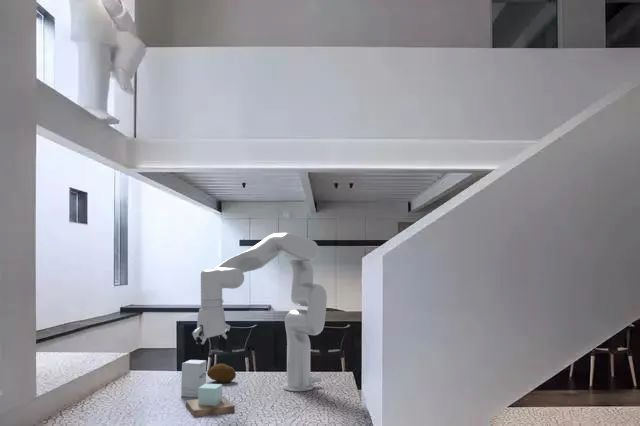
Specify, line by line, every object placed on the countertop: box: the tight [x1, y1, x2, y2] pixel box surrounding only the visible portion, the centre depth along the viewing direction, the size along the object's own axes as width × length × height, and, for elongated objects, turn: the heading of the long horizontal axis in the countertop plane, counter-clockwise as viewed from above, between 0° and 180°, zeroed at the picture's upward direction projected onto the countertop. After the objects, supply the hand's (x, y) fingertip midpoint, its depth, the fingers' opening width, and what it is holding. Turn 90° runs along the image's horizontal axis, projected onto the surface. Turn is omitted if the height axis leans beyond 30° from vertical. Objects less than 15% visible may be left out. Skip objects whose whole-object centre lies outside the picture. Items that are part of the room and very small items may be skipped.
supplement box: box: [180, 359, 207, 398], centre depth 213 cm, size 7×7×13 cm
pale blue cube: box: [197, 383, 223, 406], centre depth 194 cm, size 6×6×6 cm
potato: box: [206, 363, 237, 384], centre depth 234 cm, size 8×12×8 cm, turn 91°
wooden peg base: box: [185, 395, 236, 418], centre depth 194 cm, size 14×14×6 cm
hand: (212, 352), depth 195 cm, fingers open, 9 cm apart
